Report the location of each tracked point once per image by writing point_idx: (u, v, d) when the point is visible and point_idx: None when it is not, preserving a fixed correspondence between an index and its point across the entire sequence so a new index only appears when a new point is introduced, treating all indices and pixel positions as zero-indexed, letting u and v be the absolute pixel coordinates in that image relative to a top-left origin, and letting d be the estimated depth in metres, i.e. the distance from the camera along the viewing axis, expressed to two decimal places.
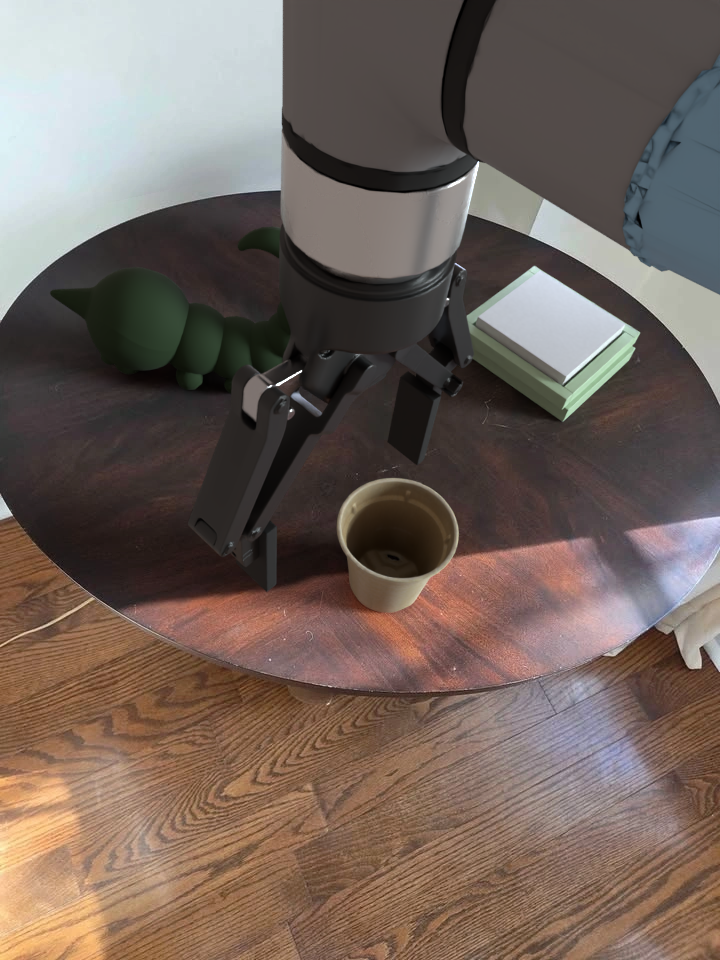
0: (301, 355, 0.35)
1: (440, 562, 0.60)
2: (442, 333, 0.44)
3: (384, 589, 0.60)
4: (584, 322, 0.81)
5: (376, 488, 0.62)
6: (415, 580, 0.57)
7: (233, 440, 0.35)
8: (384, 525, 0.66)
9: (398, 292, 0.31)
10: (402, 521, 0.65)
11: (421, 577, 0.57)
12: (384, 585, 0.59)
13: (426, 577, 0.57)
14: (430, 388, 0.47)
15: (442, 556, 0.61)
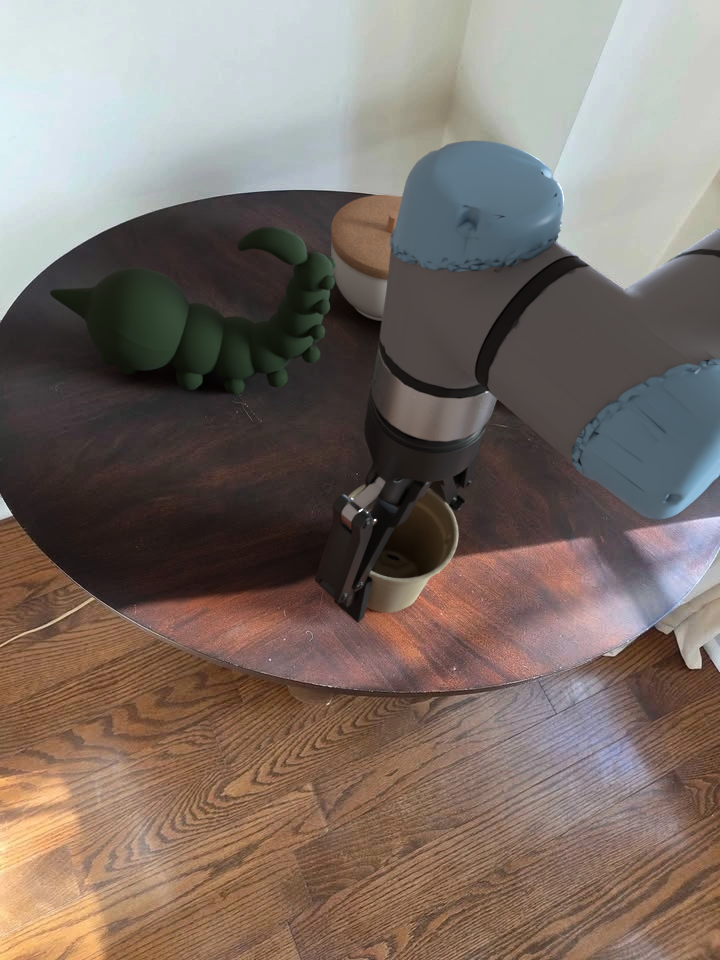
0: (379, 478, 0.50)
1: (440, 562, 0.60)
2: None
3: (384, 589, 0.60)
4: None
5: None
6: (415, 580, 0.57)
7: (338, 537, 0.52)
8: None
9: (451, 446, 0.46)
10: None
11: (421, 577, 0.57)
12: (384, 585, 0.59)
13: (426, 577, 0.57)
14: None
15: (442, 556, 0.61)
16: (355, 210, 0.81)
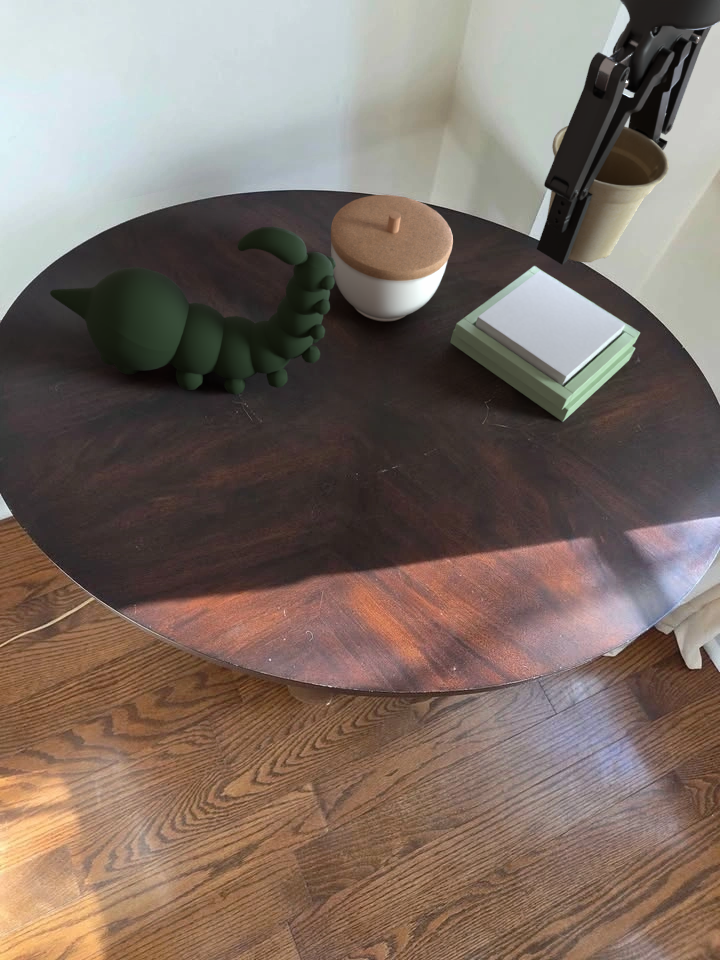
0: (632, 39, 0.53)
1: None
2: None
3: (597, 213, 0.63)
4: (584, 322, 0.81)
5: None
6: (636, 187, 0.60)
7: (585, 110, 0.55)
8: None
9: None
10: (597, 178, 0.68)
11: (641, 185, 0.60)
12: (599, 206, 0.62)
13: (646, 186, 0.60)
14: None
15: None
16: (355, 210, 0.81)
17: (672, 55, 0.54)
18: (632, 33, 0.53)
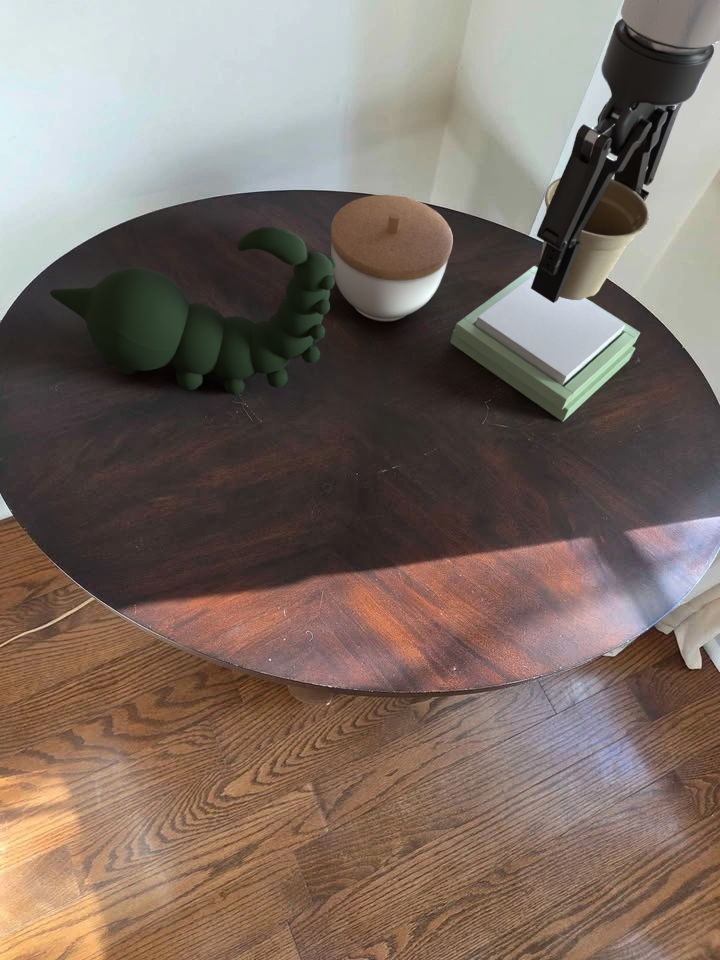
0: (614, 112, 0.60)
1: None
2: None
3: (585, 258, 0.70)
4: (584, 322, 0.81)
5: None
6: (619, 237, 0.67)
7: (572, 173, 0.62)
8: None
9: (691, 59, 0.56)
10: (586, 223, 0.75)
11: (624, 235, 0.67)
12: (586, 252, 0.69)
13: (628, 236, 0.67)
14: None
15: None
16: (355, 210, 0.81)
17: (650, 125, 0.61)
18: (614, 107, 0.60)
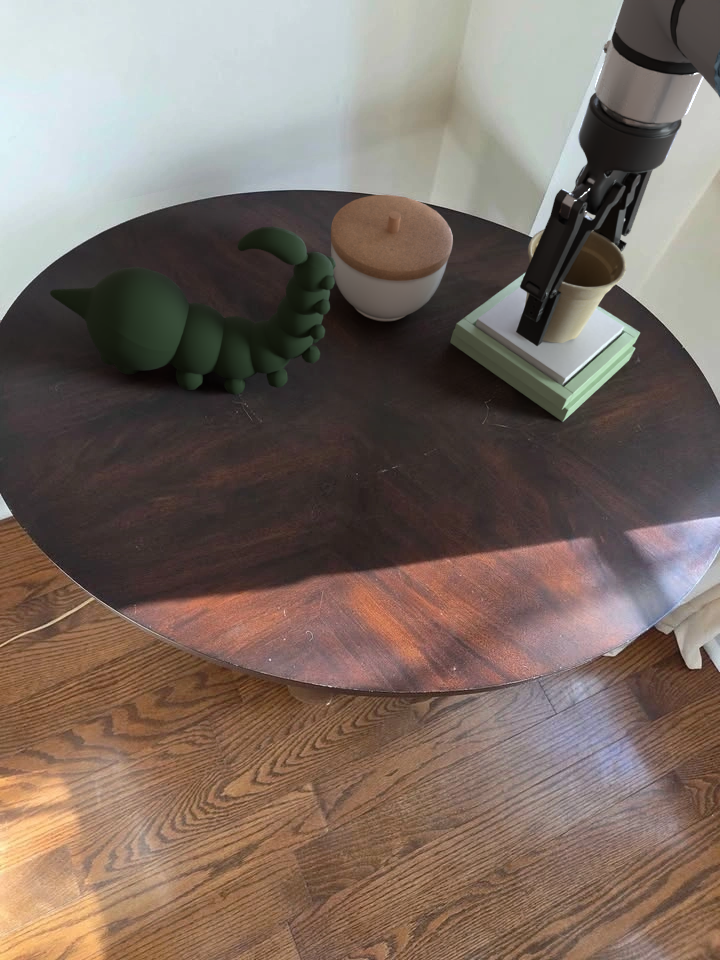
0: (590, 177, 0.65)
1: None
2: None
3: (565, 306, 0.74)
4: None
5: None
6: (597, 288, 0.72)
7: (552, 232, 0.66)
8: None
9: (659, 133, 0.60)
10: None
11: (602, 286, 0.72)
12: (567, 301, 0.74)
13: (605, 287, 0.72)
14: None
15: (610, 283, 0.75)
16: (355, 210, 0.81)
17: (623, 188, 0.66)
18: (589, 173, 0.64)
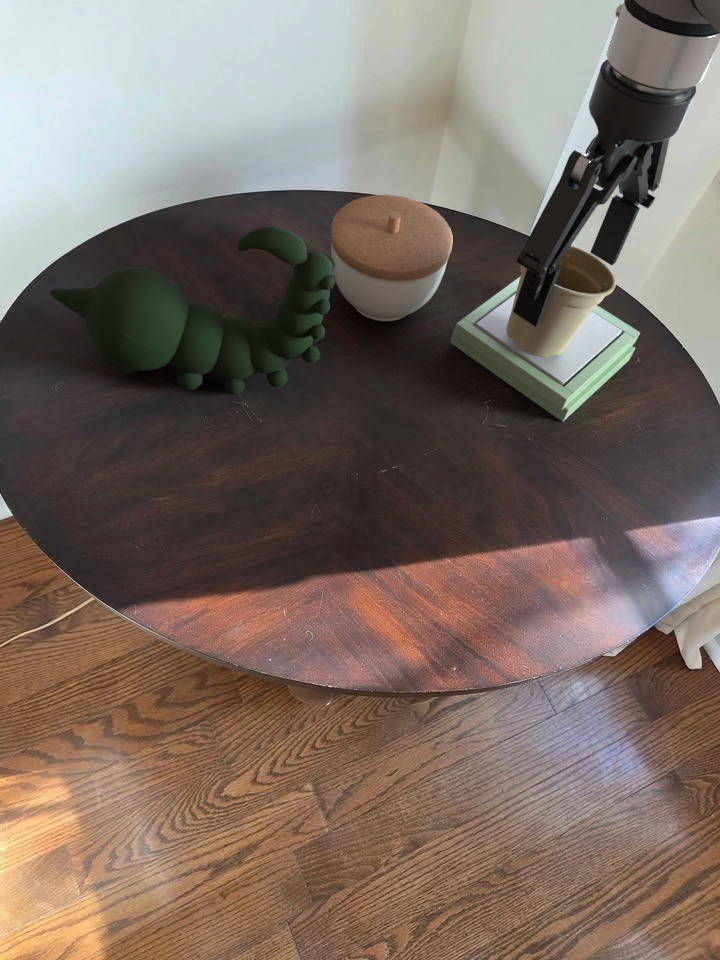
0: (601, 148, 0.62)
1: None
2: None
3: (554, 314, 0.73)
4: (581, 328, 0.82)
5: None
6: (589, 295, 0.70)
7: (560, 198, 0.63)
8: None
9: (673, 100, 0.58)
10: None
11: (593, 294, 0.71)
12: (557, 308, 0.72)
13: (597, 295, 0.71)
14: (632, 204, 0.75)
15: None
16: (355, 210, 0.81)
17: (635, 159, 0.64)
18: (600, 143, 0.62)
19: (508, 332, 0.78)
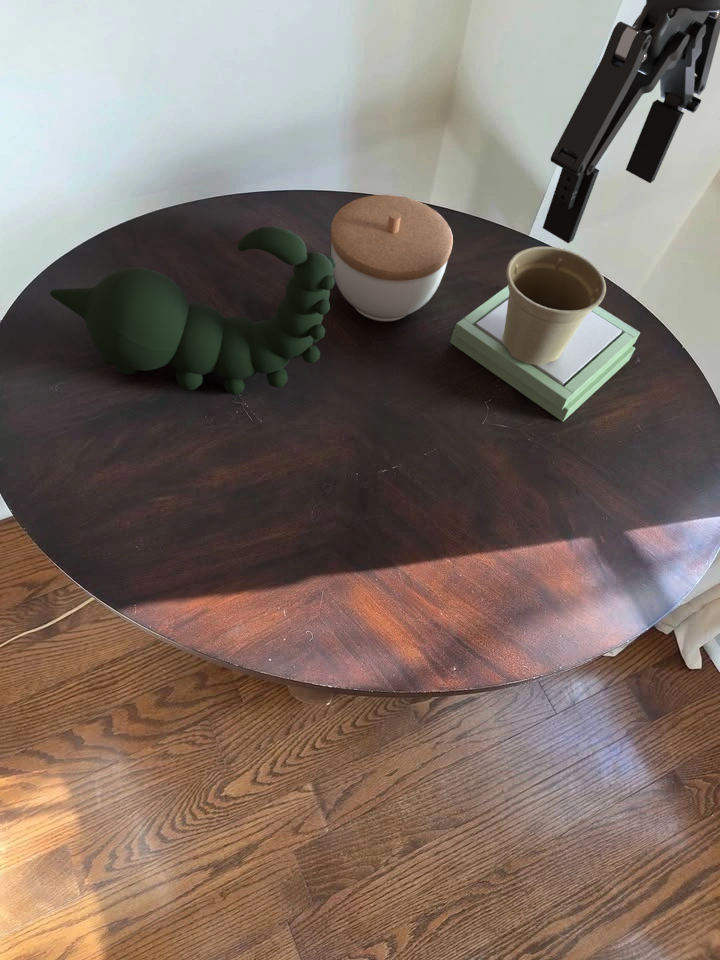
0: (649, 22, 0.55)
1: None
2: None
3: (543, 329, 0.73)
4: (581, 328, 0.82)
5: (534, 255, 0.76)
6: (574, 312, 0.70)
7: (602, 80, 0.55)
8: (534, 295, 0.79)
9: None
10: (550, 291, 0.79)
11: (579, 310, 0.70)
12: (544, 324, 0.73)
13: (583, 311, 0.71)
14: (675, 108, 0.67)
15: (590, 306, 0.74)
16: (355, 210, 0.81)
17: (687, 38, 0.56)
18: (649, 16, 0.54)
19: (504, 341, 0.79)
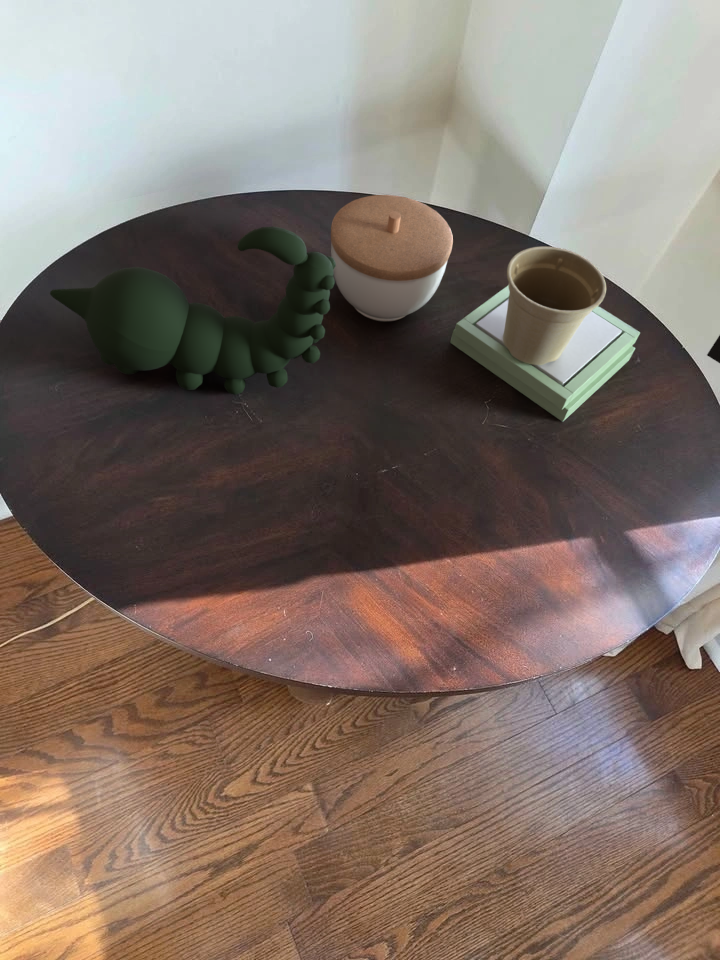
0: None
1: None
2: None
3: (543, 329, 0.73)
4: (581, 328, 0.82)
5: (534, 255, 0.76)
6: (574, 312, 0.70)
7: None
8: (534, 295, 0.79)
9: None
10: (550, 291, 0.79)
11: (579, 310, 0.70)
12: (544, 324, 0.73)
13: (583, 311, 0.71)
14: None
15: None
16: (355, 210, 0.81)
17: None
18: None
19: (504, 341, 0.79)
